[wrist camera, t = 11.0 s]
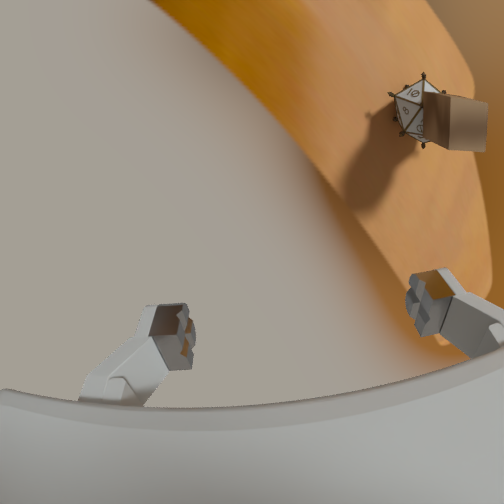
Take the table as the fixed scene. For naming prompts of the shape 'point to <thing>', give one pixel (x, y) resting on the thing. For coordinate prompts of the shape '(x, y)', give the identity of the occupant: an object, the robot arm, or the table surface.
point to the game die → (412, 108)
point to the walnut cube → (455, 121)
